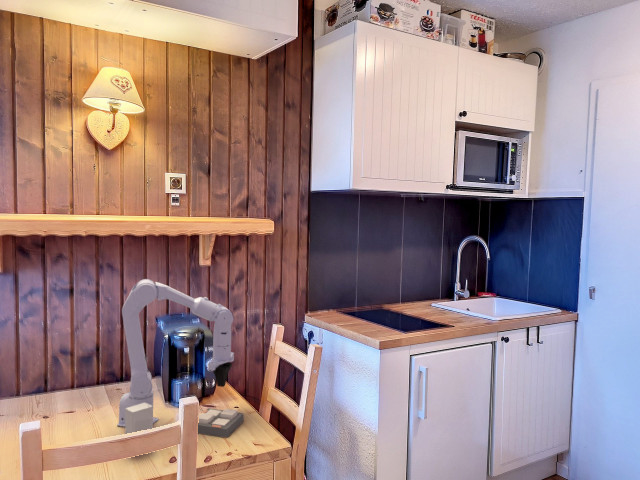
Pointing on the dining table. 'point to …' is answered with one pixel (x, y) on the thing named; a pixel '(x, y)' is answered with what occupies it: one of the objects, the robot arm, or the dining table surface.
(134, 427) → the skincare box
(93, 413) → the dining table surface
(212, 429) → the console
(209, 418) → the key
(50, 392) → the dining table surface
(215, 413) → the key
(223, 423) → the key
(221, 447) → the dining table surface
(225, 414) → the key
